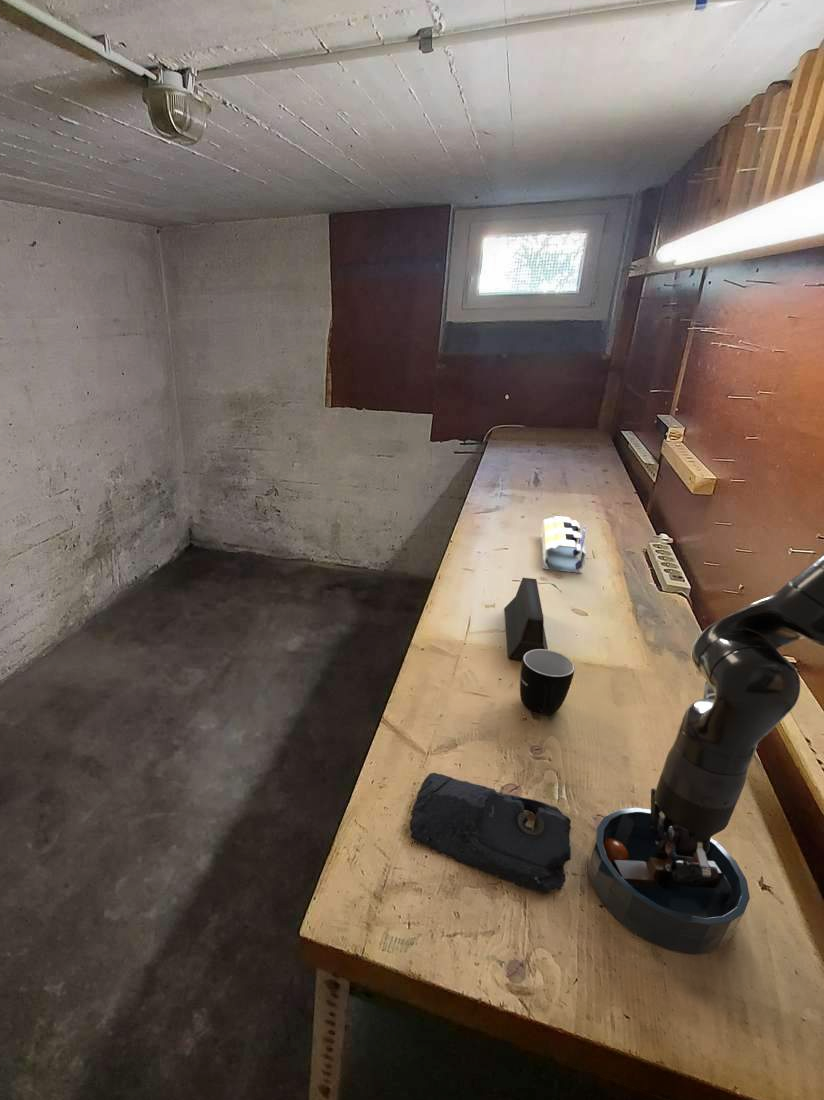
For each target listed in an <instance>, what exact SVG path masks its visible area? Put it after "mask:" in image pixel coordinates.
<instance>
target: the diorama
mask: <svg viewBox="0 0 824 1100" xmlns="http://www.w3.org/2000/svg"><path fill="white" fill-rule="evenodd" d="M542 522H543V523H542V529H541V537H540V541H541V542H540V543H541V553H542V554H541V555H542V556H541V557H542V568H543V570H551V571H558V572H559V571H561V572H566V573H567V572H568V573H576V574H582V569H583V568H584V566H585V562H586V557H587V551H586V547H585V545H584V542H585V539H586V528H587V527H586V525H583V529H582V533H581V526H580V523H579V522H578V521H577V520H575V519H572V518H571V517H570V516H559V515H555V516H553V517H548V518H545V519H543V521H542ZM579 555H581V556H580V558H579Z"/></svg>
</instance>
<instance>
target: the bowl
mask: <svg viewBox="0 0 824 1100" xmlns="http://www.w3.org/2000/svg"><path fill="white" fill-rule="evenodd" d="M659 818H660V817H659ZM658 821H659V819H658ZM650 825H651V808H641V807H628V808H619V809H616V810H614V811H612V812H610V813H609V814H607V815H605V816H603V818H602V820H601V821H600V823H599V824H598V826H597V827H596V829H595V830H596V831H595V834H594V836H593V841H592V843H591V846H590V850H589V854H588V859H587V873H588V878H589V881H590V884H591V887H592V888H593V891H594V893H595V895H596V896H597V898H598V899H599V901H600V902H601V903H602V905H603V906H604V907H605V908H606V910H607V911H608V912H609V913H610V914H611V915H612V916H613V917H614V918H615V919H616V920H617V921H618V922H619V923H620V924H622V926H623V927H625V928H627V929H628V930H629V931H631V932H632V933H633V934H635V935H637V936H639V937H640V938H642V939H643V940H645V941H647V942H649V943H651V944H653V945H655V946H657V947H659V948H662V949H666V950H669V951H671V952H676V953H680V954H687V955H705V954H711V953H713V952H716V951H718V950H720V949H721V948H723V947H725V945H726V944H727V943H728V942H729V941H730V940H731V939H732V937H733V935H734V933H735V931H736V929H737V928H738V926H739V924H740V922H741V920H742V919H743V916H744V914H745V912H746V909H747V906H748V904H749V901H750V899H751V897H750V892H749V886H748V880H747V878H746V876H745V874H744V873H743V871H742V869H741V868H740V866H739V864H738V863H737V861H736V860H735V859H734V857H733V856H732V855H730V853H729V852H728V851H727V850H726V849H725V847H723V846H722V845H721V844H720V843H719V842H718V841H717V840H715V839H714V838H712V837H711V839H710V849H709V851H708V852H707V853H706V857H707V861H714V862H715V863H716V865H717V866H718V868H719V869H720V871H721V872H722V875H721V877H720V879H719V881H718V884H717V886H716V888H701V887H683V886H681V887H680V890H679V891H673V890H666V889H662V888H661V887H660V885H653V888H638V887H632V886H631V885H630V884H628V883H627V882H626V881H625V880H624V879H623V878H622V877H621V876H620V875H619V874H618V872H617V871H616V869H615V868H614V866H613V865H612V864H611V862H610V861H609V859H608V857H607V854H606V851H605V848H604V845H603V840H605V839H615V840H618V841H619V842H621V843H622V844H623V845H624V846H625V847H626V849H627V851H628V861H645V862H646V864H648V861H649V858H653V856H654V853H655V851H656V846H655V838H656V834H653V833H652V832H651V829H650Z"/></svg>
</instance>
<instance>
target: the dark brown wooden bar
mask: <svg viewBox="0 0 824 1100" xmlns="http://www.w3.org/2000/svg"><path fill="white" fill-rule="evenodd" d="M665 862H666V858H649V861H648V864H646V862H645V861H627V860H614V861H613V864H612V865H613V866H614V868H615V869H616V871H617V872H618V874H619V875H620V876H621V877H622V878H623V879H624V880H625V881H626V882H627V883H628V884H630V885H631V886H632V887H638V888H653V885H659V880H660V877H661V874H662V872H663V867H664V865H665ZM676 862H678V863H683V861H680V860H678V861H676ZM708 864H709V865H710V866H711V867H716V868H717V870H718V878H717V879H714V880H710V881H706V882H703V883H699V884H695V883H687V882H682V885H681V886H683V887H701V888H716V886H717V884H718V881H719V879H720V877H721V875H722V872H721V871H720V869H719V868H718V866H717V865H716V863H715V862H714V861H708Z"/></svg>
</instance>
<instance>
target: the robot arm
mask: <svg viewBox="0 0 824 1100" xmlns="http://www.w3.org/2000/svg"><path fill="white" fill-rule="evenodd" d="M800 640H805V641H807V642H809V643H811V644H813V645H816V646H820V647H823V648H824V554H822V555H821V556H819V557H818V558H817V559H815V561H813V562H812V563H811V564H810V565H808V566H807V567H806V568H805V569H803V570H802V571H801V572H799V573H797V575H795V576H794V577H793V578H792V579H791V580H789V582H787V583H786V584H785V585H783V586H782V587H781V588H780V589H778V591H776V592H774V593H772V594H770V595H768V596H766V597H763V598H761V599H758V600H756V601H754V602H752V603H750V604H747V605H746V606H744V607H742V608H740V609H738V610H736V611H733V612H731V613H730V614H728V615H725V616H724V617H722V618H720V619H718V620H716V621H715V622H713V623H712V624H710V625H708V626H707V627H706V628H705V629H704V630H703V631H701V633H700V634H699V635H698V637H697V638H696V639H695V641H694V643H693V645H692V647H691V653H690V657H691V661H692V664H693V666H694V667H695V669H696V670H697V672H698V673H699V674H700V675H701V676H702V677H703V678H704V681H707V682H708V683H709V685H710V686H711V687H712V688H713V690H714V691H715V699H703V698H701V699H697V700H694V701H693V702H692V703H691V704H689V705H688V707H687V708H686V710H685V711H684V713H683V716H682V719H681V721H680V725H679V728H678V730H677V734H676V736H675V739H674V741H673V744H672V745H671V747H670V749H669V750H668V753H667V755H666V758H665V762H664V764H663V766H662V770H661V774H660V775H659V780H658V782H657V785H656V787H655V788H654V787H653V788H650V809H651V825H650V829H651V832H652V833H653V834H656V838H655V846H656V851H655V853H654V856H653V858H666V862H665V865H664V867H663V872H662V874H661V877H660V880H659V885H660V887H661V888H662V889H666V890H673V891H679V890H680V887H681V885H682V882H687V883H695V884H699V883H703V882H706V881H710V880H714V879H717V878H718V870H717V868H716V867H711V866H710V865H709V864H708V861H707V857H706V853H707V852H708V851H709V849H710V839H711V838H712V837H714V836H715V835H716V834H719V833H721V832H722V831H724V830H725V829H726V828H727V826H728V825H729V822H730V820H731V817H732V814H734V810H735V808H736V805H737V803H738V801H739V798H740V796H741V794H742V791H743V789H744V786H745V783H746V781H747V780H746V779H747V773H748V769H749V768H750V765H751V763H752V760H753V758H754V755H755V753H756V750H757V748H758V745H759V743H760V742H761V740H762V739H764V738H765V737H766V736H767V735H769V733H771V731H773V729H774V728H775V727H776V726H777V725H778V724H779V723H780V722H781V721H782V720H783V719H785V717H786V716H787V715H788V714H790V712H791V711H792V710H793V708H794V707H795V706H796V704H797V703H798V700H799V697H800V693H801V677H800V674H799V672H798V670H797V668H796V667H795V665H793V664H792V662H790V660H789V659H787V658H786V657H785V656H784V655H783V654H782V653H781V652H780V651H779V650H778V649H780V648H782V647H785V646H788V645H790V644H793V643H795V642H798V641H800ZM659 817H660V818H659ZM658 819H659V821H658ZM678 860H680V861H683V863H678V862H676V861H678Z"/></svg>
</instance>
